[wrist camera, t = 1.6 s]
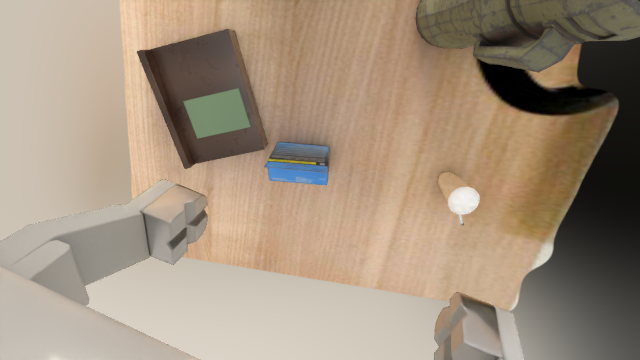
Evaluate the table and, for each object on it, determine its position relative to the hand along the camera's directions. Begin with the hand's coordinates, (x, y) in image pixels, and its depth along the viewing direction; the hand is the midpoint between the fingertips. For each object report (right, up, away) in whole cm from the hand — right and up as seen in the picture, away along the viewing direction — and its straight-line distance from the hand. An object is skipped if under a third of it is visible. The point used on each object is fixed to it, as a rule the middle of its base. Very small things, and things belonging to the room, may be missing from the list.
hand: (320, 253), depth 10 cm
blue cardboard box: (-3, +7, +45) cm, 46 cm away
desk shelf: (-17, +15, +42) cm, 48 cm away
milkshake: (+22, +2, +46) cm, 51 cm away
